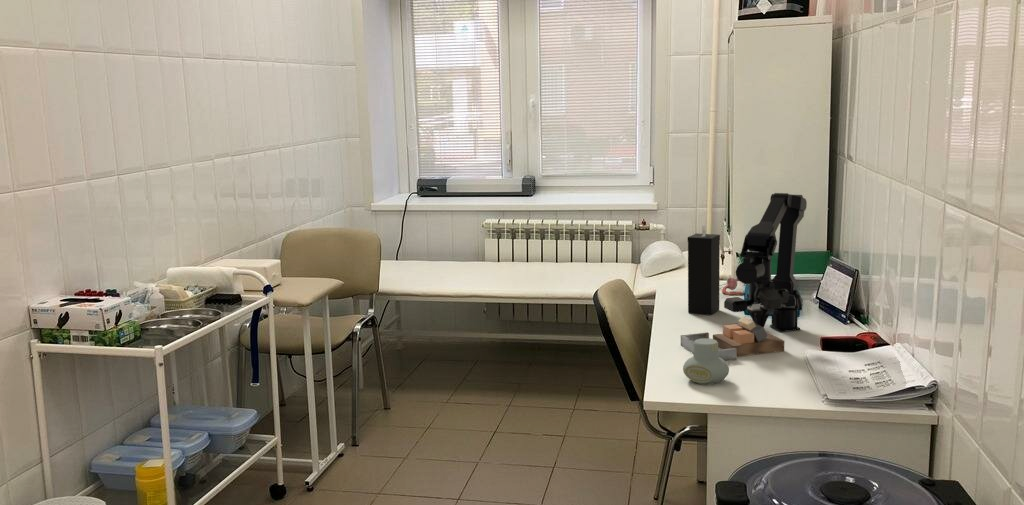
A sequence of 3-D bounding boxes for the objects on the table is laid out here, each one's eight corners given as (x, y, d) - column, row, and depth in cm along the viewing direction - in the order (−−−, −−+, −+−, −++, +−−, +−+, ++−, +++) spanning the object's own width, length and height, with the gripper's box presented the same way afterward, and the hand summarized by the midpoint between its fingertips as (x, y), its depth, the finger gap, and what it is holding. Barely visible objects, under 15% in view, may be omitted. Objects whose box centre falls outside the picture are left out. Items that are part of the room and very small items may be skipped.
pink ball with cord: (753, 268, 303) (737, 279, 281) (762, 291, 302) (747, 304, 280) (700, 287, 312) (681, 299, 290) (709, 309, 312) (690, 324, 290)
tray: (707, 342, 241) (707, 332, 240) (736, 359, 224) (736, 348, 224) (680, 345, 239) (680, 335, 238) (707, 363, 222) (707, 352, 222)
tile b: (746, 338, 232) (746, 329, 232) (754, 342, 229) (754, 333, 228) (733, 340, 232) (733, 331, 231) (740, 344, 228) (740, 334, 227)
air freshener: (677, 381, 209) (677, 342, 207) (692, 372, 216) (692, 334, 214) (719, 389, 203) (719, 348, 201) (733, 379, 209) (734, 340, 207)
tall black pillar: (719, 310, 276) (720, 224, 271) (711, 315, 270) (711, 228, 265) (696, 307, 280) (696, 223, 275) (687, 313, 274) (687, 226, 269)
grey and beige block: (749, 327, 239) (742, 312, 238) (767, 336, 229) (760, 321, 228) (740, 332, 238) (733, 318, 237) (758, 342, 229) (751, 327, 228)
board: (761, 339, 241) (761, 329, 241) (784, 351, 230) (784, 340, 229) (712, 344, 238) (712, 334, 238) (733, 357, 227) (733, 346, 226)
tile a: (735, 333, 238) (736, 324, 238) (743, 336, 234) (743, 327, 234) (722, 334, 237) (723, 325, 237) (729, 337, 233) (729, 329, 233)
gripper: (743, 285, 222) (743, 343, 224) (807, 279, 226) (806, 336, 228) (723, 277, 232) (723, 333, 235) (784, 271, 236) (784, 326, 239)
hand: (759, 332), depth 234 cm, fingers closed
